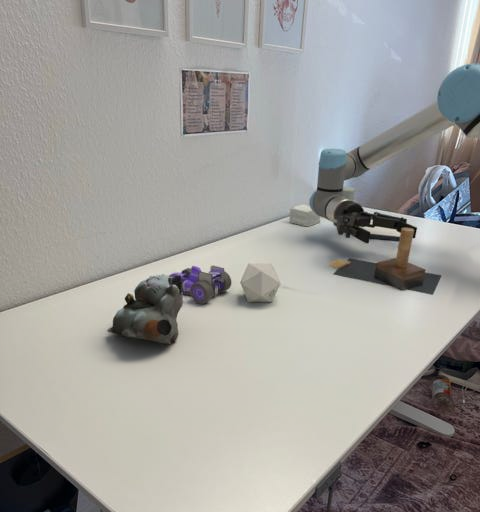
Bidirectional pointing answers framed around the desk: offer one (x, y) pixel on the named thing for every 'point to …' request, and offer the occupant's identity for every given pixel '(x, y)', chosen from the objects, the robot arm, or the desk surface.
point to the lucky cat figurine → (151, 310)
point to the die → (260, 282)
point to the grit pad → (339, 263)
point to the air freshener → (348, 193)
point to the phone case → (383, 233)
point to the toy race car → (203, 282)
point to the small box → (303, 216)
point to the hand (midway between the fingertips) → (392, 235)
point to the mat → (367, 273)
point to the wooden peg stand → (401, 266)
